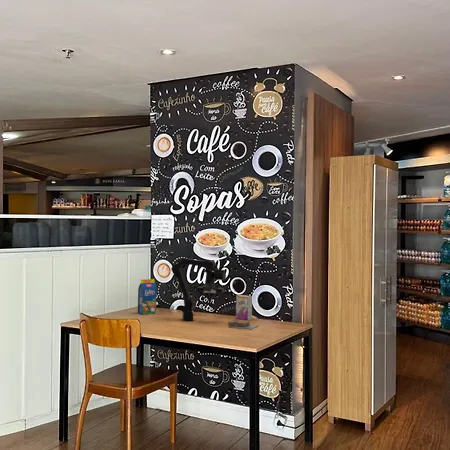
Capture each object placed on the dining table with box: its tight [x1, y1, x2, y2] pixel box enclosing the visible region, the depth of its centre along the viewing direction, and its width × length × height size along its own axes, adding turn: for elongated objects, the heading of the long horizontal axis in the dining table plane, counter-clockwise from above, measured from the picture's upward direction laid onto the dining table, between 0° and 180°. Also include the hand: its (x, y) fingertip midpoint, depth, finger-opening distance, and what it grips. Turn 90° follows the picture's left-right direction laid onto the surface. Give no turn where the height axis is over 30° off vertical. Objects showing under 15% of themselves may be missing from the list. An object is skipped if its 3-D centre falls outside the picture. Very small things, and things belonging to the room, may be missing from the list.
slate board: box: [228, 323, 260, 330], centre depth 365 cm, size 15×16×1 cm
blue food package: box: [137, 278, 158, 315], centre depth 416 cm, size 6×12×25 cm, turn 130°
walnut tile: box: [227, 319, 251, 327], centre depth 366 cm, size 3×10×11 cm
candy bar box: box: [235, 294, 253, 321], centre depth 398 cm, size 11×5×16 cm, turn 47°
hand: (209, 302), depth 381 cm, fingers closed
